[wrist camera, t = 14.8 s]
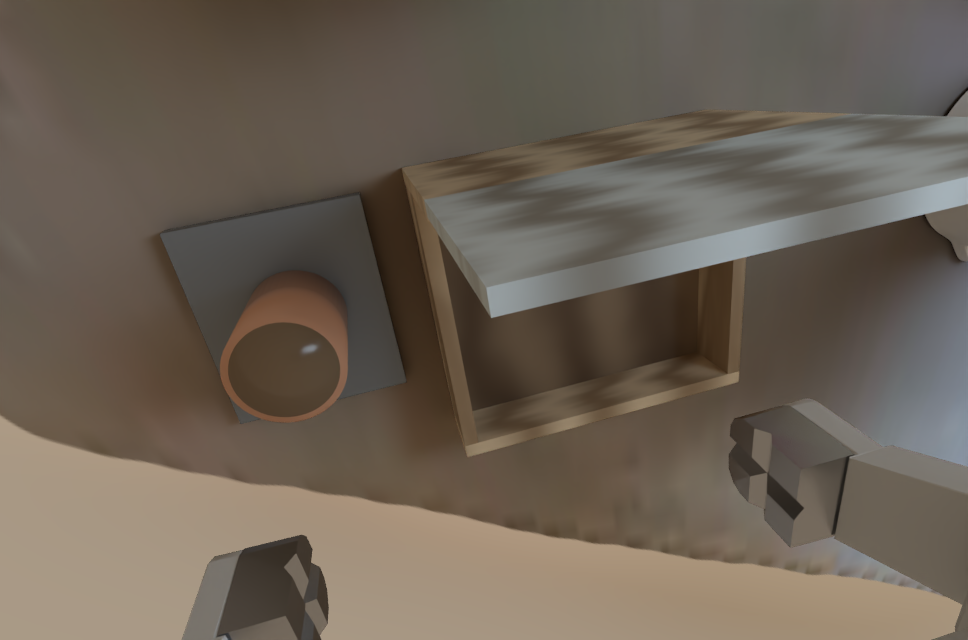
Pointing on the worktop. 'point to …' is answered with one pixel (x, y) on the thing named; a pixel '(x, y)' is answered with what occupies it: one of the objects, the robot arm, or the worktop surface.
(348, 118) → the worktop surface
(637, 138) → the brown patterned open box
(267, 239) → the slate tile
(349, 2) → the worktop surface
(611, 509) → the worktop surface
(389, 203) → the worktop surface
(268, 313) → the terracotta pot
